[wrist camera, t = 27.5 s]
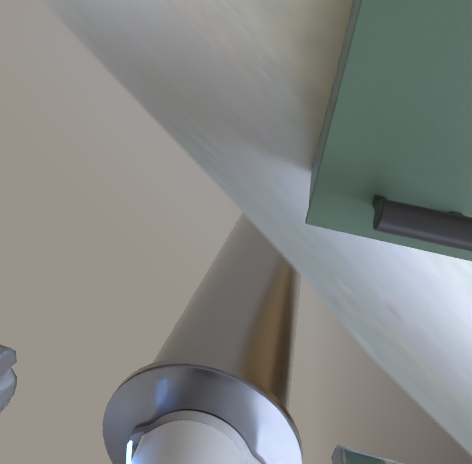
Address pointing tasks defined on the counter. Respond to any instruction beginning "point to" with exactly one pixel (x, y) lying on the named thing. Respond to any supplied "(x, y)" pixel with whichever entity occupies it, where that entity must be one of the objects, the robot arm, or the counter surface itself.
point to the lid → (402, 129)
